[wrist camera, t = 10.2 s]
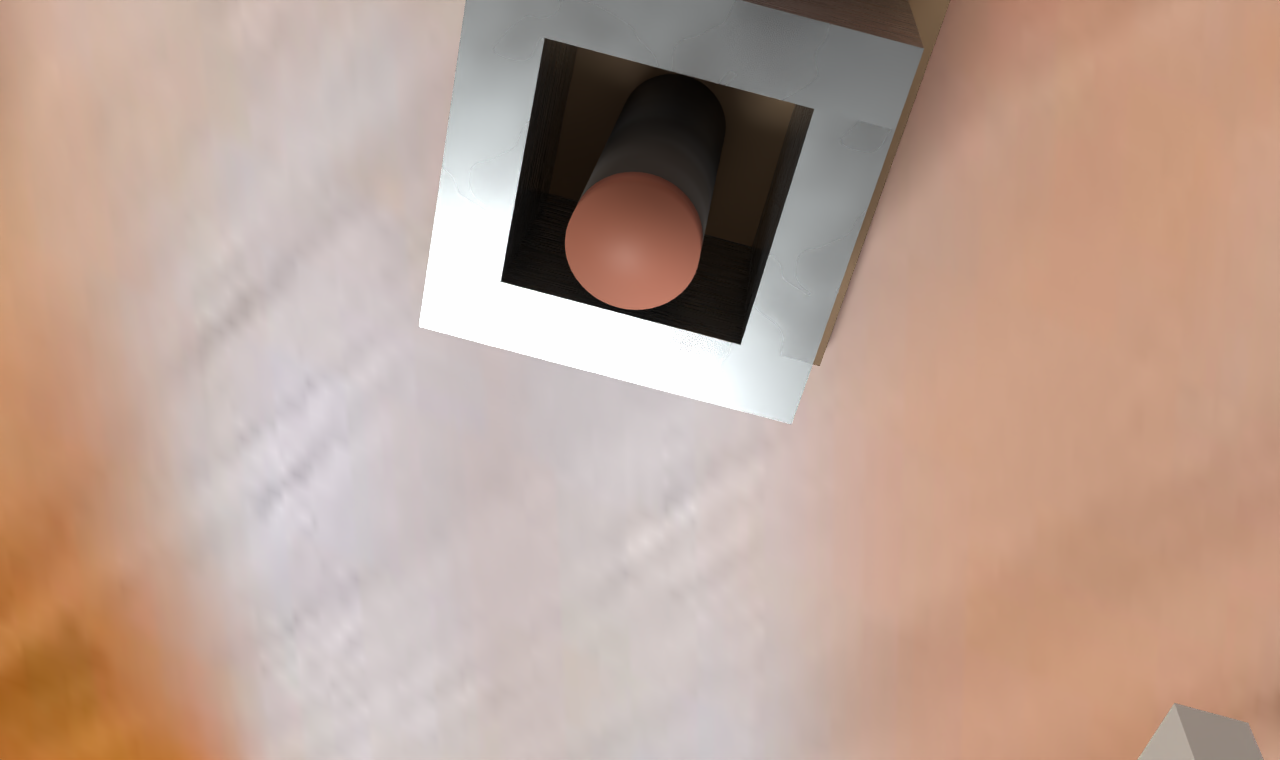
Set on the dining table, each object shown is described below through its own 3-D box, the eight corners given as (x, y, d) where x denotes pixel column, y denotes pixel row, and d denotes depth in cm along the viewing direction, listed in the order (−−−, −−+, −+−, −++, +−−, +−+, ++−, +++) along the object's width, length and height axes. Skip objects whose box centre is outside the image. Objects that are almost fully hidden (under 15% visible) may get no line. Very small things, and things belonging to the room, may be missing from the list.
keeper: (961, -47, 24) (1015, 42, 18) (819, 354, 30) (821, 536, 23) (501, -168, 24) (388, -123, 18) (438, 254, 30) (333, 408, 23)
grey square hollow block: (904, -11, 24) (924, 48, 20) (794, 316, 28) (791, 424, 24) (534, -109, 24) (475, -70, 20) (478, 233, 28) (418, 326, 24)
